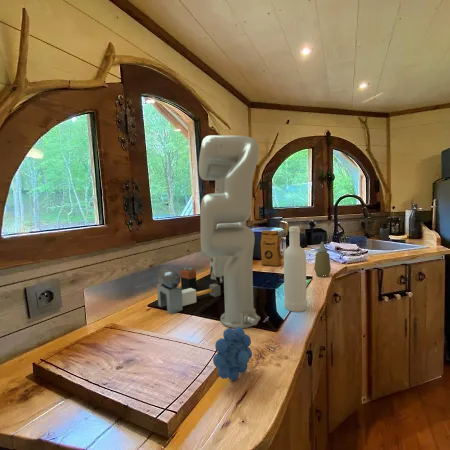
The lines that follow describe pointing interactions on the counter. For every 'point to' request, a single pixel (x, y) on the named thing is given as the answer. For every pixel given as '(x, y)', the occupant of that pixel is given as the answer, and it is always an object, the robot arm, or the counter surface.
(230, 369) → the grapes
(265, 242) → the coffee package
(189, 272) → the battery
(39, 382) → the counter surface
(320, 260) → the squeeze bottle
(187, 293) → the white mallet
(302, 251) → the bottle
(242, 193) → the robot arm
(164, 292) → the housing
